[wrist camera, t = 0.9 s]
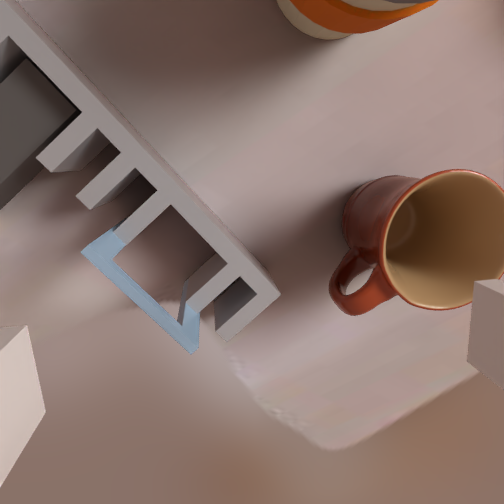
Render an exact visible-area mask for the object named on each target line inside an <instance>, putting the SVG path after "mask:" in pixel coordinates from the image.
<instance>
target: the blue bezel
mask: <svg viewBox="0 0 504 504" xmlns="http://www.w3.org/2000/svg"><path fill="white" fill-rule="evenodd" d="M127 218H128V217H127ZM127 218H125V219H124V220H122V221H121V222H120V223H118V224H117V225H115V226H114V227H113V228H111V229H110V230H108V231H107V232H106V233H104V234H103V235H101V236H100V237H98V238H97V239H96V240H94V241H93V242H91V243H90V244H89V245H87V246H86V247H85V248H84V249H83V250H82V251H81V253H82V254H83V255H84V256H85V257H86V258H87V259H88V260H89V261H90V262H91V263H92V264H93V265H95V266H96V267H97V268H98V269H99V270H100V271H101V272H102V273H103V274H104V275H105V276H106V277H108V278H109V279H110V280H111V281H112V282H113V283H114V284H115V285H116V286H117V287H118V288H119V289H121V290H122V291H123V292H124V293H125V294H126V295H127V296H128V297H129V298H130V299H131V300H132V301H133V302H135V303H136V304H137V305H138V306H139V307H140V308H141V309H142V310H143V311H144V312H145V313H146V314H148V315H149V316H150V317H151V318H152V319H153V320H154V321H155V322H156V323H157V324H158V325H159V326H160V327H162V328H163V329H164V330H165V331H166V332H167V333H168V334H169V335H170V336H171V337H172V338H173V339H175V340H176V341H177V342H178V343H179V344H180V345H181V346H182V347H183V348H184V349H185V350H186V351H188V352H189V353H190V354H192V353H193V352H195V351H196V350H197V349H198V346H199V325H200V312H199V313H198V314H197V313H196V312H195V311H194V310H193V309H192V308H191V307H190V306H189V305H188V304H187V303H185V301H186V294H187V287H188V281H189V279H188V280H186V281H185V282H184V286H183V292H182V297H181V303H180V309H179V314H178V319H177V321H176V320H175V319H174V318H173V317H172V316H171V315H170V314H169V313H168V312H167V311H166V310H164V309H163V308H162V307H161V306H160V305H159V304H158V303H157V302H156V301H155V300H154V299H153V298H152V297H151V296H150V295H149V294H148V293H146V292H145V291H144V290H143V289H142V288H141V287H140V286H139V285H138V284H137V283H136V282H135V281H134V280H133V279H132V278H131V277H129V276H128V275H127V274H126V273H125V272H124V271H123V270H122V269H121V268H120V267H119V266H118V265H117V264H116V263H115V262H114V261H113V260H112V259H113V258H114V257H115V256H116V255H117V254H118V253H119V251H120V250H121V249H122V248H123V247H124V246H125V245H126V244H124V243H123V242H122V241H121V240H120V239H119V238H118V237H117V236H116V235H115V234H114V233H113V232H114V231H115V230H116V229H117V228H118V227H119V226H120V225H121V224H122V223H123V222H124V221H125V220H126V219H127Z"/></svg>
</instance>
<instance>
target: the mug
mask: <svg viewBox="0 0 504 504" xmlns="http://www.w3.org/2000/svg"><path fill="white" fill-rule="evenodd" d="M342 232H343V236H344V238H345V240H346V242H347V244H348V246H349V248H350V250H349V251H348V252H347V253H346V255H345V256H344V258H343V259H342V261H341V263H340V264H339V266H338V267H337V269H336V270H335V271H334V273H333V275H332V277H331V279H330V282H329V294H330V296H331V298H332V300H333V301H334V303H335V304H336V305H337V306H338V308H339V309H340V310H341V311H343V312H344V313H346V314H348V315H351V316H356V315H361V314H364V313H366V312H368V311H370V310H372V309H373V308H375V307H376V306H378V305H379V304H381V303H383V302H385V301H387V300H389V299H391V298H393V297H394V296H396V295H399V296H400V297H401V298H402V299H403V300H404V301H406V302H407V303H409V304H410V305H413V306H416V307H419V308H423V309H428V310H440V311H442V310H451V309H455V308H459V307H462V306H465V305H467V304H469V303H471V302H472V300H473V289H474V281H481V280H491V279H500V278H501V276H502V275H503V274H504V190H503V189H502V188H501V187H500V186H499V185H498V184H497V183H496V182H495V181H493V180H492V179H490V178H489V177H487V176H485V175H483V174H480V173H478V172H474V171H471V170H464V169H451V170H445V171H440V172H436V173H434V174H431V175H428V176H426V177H424V178H422V179H419V178H413V177H405V176H398V175H392V176H385V177H382V178H379V179H376V180H372V181H370V182H367V183H365V184H364V185H362V186H361V187H359V188H358V189H357V190H356V191H355V192H354V193H353V194H352V196H351V197H350V198H349V200H348V202H347V204H346V206H345V208H344V212H343V216H342ZM371 268H372V269H374V270H373V271H372V273H371V275H370V277H369V279H368V281H367V282H366V283H365V284H364V285H363V286H362V287H361V288H360V289H359V290H357V291H356V292H354V293H352V294H350V295H346V289H347V286H348V285H349V283H350V282H351V280H352V279H353V278H354V277H356V276H357V275H359V274H361V273H362V272H364V271H366V270H368V269H371Z"/></svg>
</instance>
